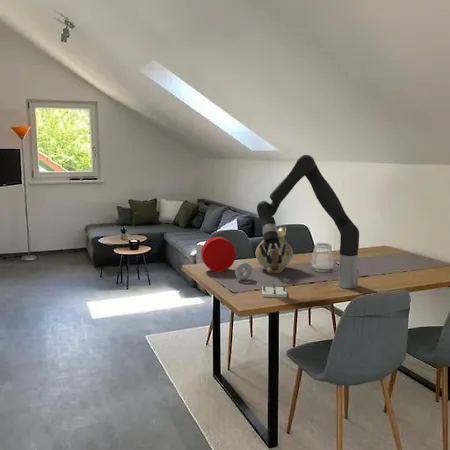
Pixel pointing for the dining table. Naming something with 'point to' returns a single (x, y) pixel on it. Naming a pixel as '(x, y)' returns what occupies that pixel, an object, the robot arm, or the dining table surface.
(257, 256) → the tied beige sack
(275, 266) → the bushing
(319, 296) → the dining table surface
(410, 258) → the dining table surface
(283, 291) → the locating plate
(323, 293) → the dining table surface
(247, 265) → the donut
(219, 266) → the red round disc
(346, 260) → the robot arm
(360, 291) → the dining table surface
